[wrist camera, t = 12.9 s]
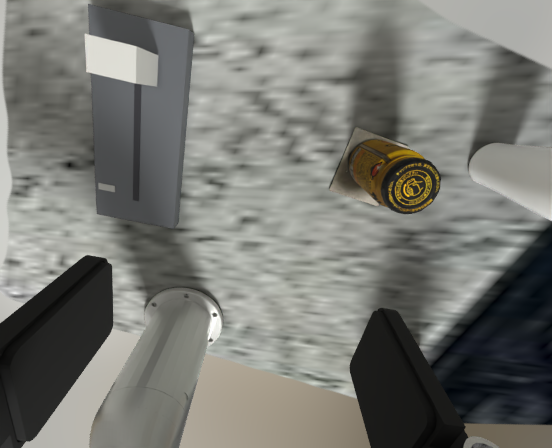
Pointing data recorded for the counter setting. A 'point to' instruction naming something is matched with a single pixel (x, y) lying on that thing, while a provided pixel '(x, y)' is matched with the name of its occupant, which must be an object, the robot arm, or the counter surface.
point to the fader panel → (141, 122)
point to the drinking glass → (516, 174)
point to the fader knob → (120, 61)
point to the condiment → (386, 174)
